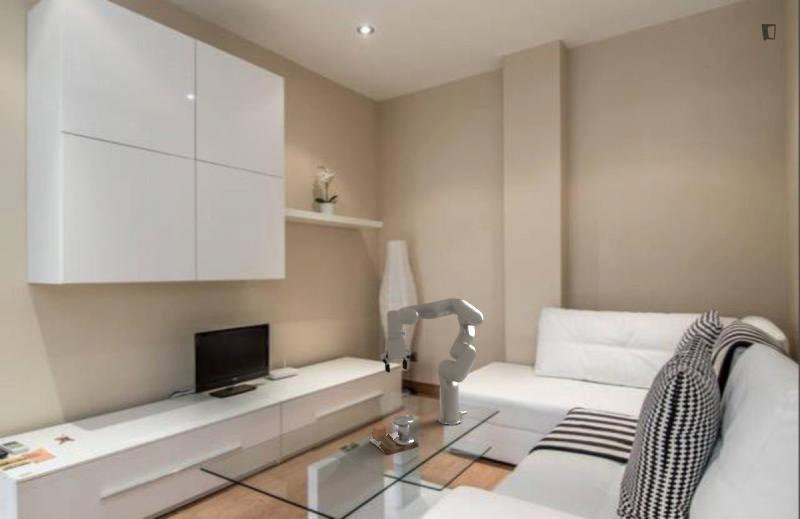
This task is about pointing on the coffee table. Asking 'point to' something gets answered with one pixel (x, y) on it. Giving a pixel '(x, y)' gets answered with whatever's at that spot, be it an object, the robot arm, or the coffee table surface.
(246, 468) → the coffee table surface
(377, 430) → the orange brown block
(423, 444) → the coffee table surface
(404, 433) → the bobbin
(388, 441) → the winding board
